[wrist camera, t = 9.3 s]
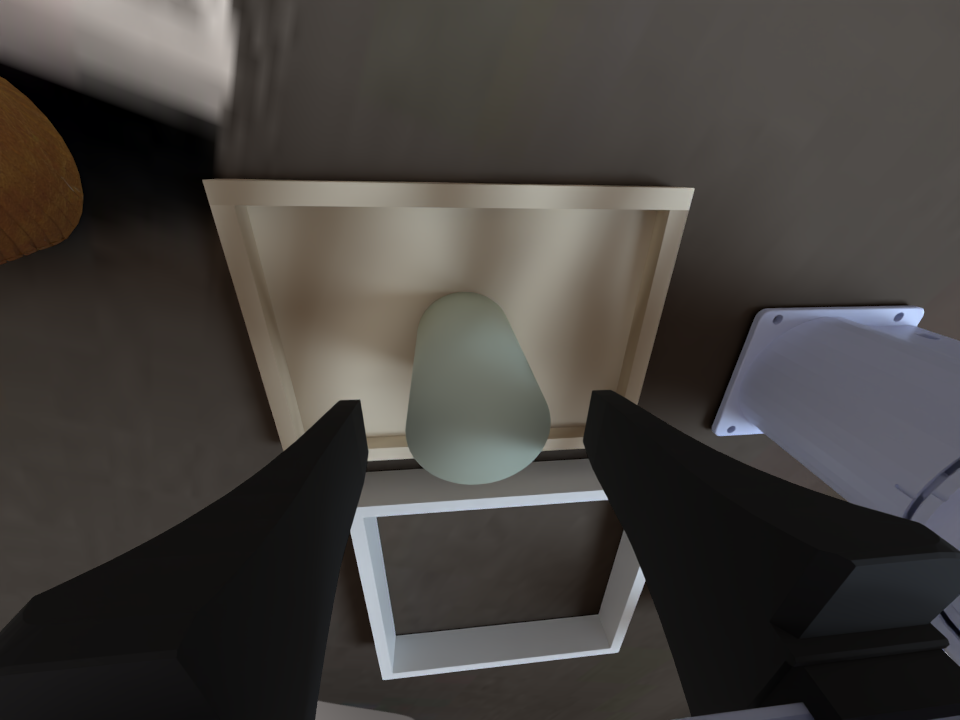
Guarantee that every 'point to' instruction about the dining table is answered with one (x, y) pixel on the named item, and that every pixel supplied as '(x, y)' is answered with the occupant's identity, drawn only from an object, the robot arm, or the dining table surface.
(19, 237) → the disposable coffee cup
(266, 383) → the birch tray
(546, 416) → the sage cylinder
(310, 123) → the dining table surface
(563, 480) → the white hollow square frame
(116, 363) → the dining table surface
